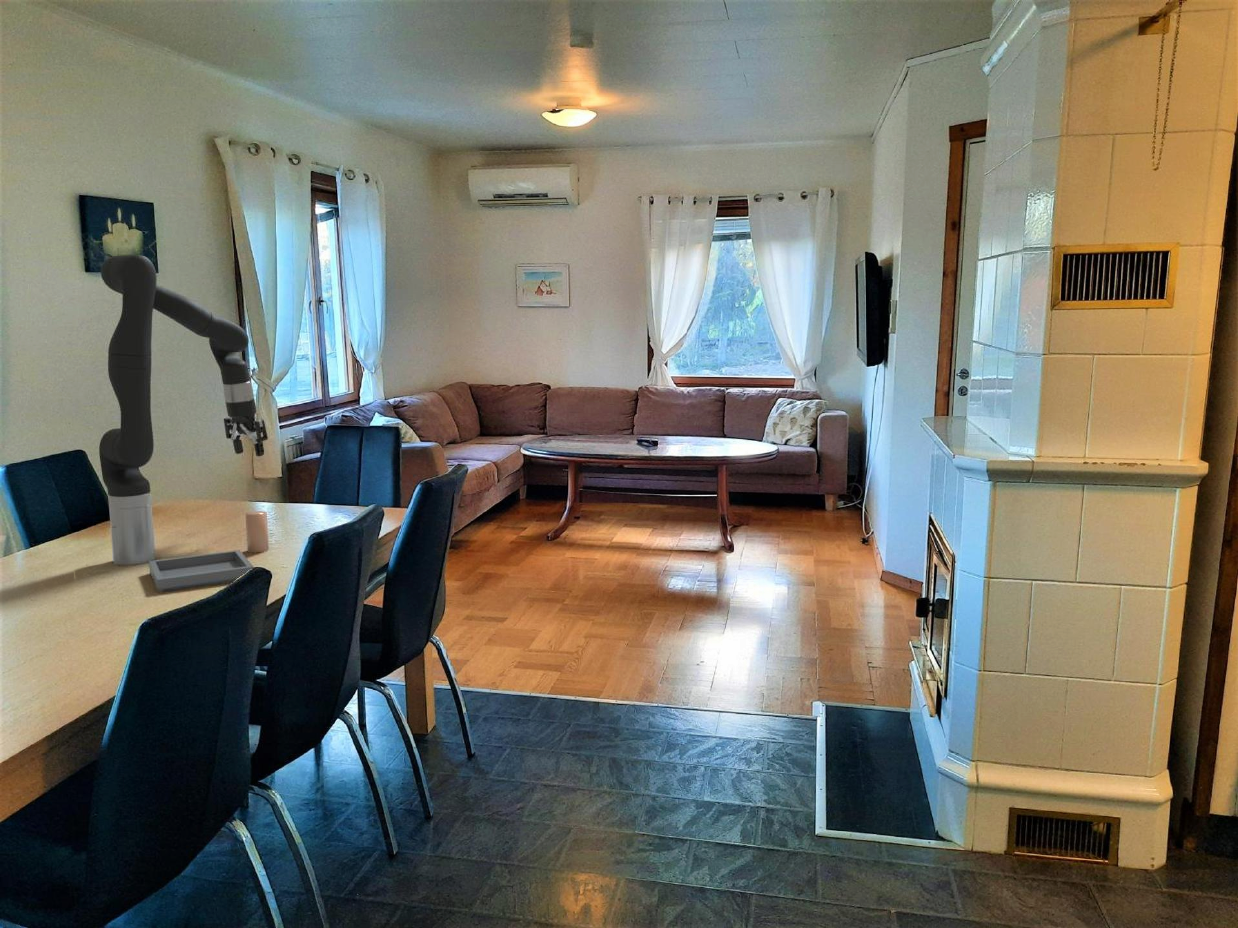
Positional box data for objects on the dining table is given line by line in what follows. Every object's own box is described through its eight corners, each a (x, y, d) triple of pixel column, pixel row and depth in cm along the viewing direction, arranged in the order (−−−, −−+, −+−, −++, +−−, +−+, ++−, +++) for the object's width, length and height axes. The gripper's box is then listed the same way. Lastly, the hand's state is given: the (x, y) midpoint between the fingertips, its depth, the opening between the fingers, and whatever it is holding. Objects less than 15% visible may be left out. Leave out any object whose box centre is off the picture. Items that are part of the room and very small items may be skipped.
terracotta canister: (249, 554, 226) (247, 516, 224) (245, 549, 230) (243, 512, 229) (270, 551, 229) (268, 513, 227) (266, 547, 233) (264, 510, 231)
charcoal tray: (158, 592, 193) (157, 579, 193) (150, 573, 208) (149, 561, 208) (254, 579, 204) (253, 566, 203) (240, 561, 219) (239, 549, 218)
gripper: (210, 400, 243) (221, 456, 247) (245, 402, 236) (256, 460, 241) (233, 394, 249) (243, 449, 254) (268, 396, 242) (278, 453, 247)
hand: (249, 454), depth 247 cm, fingers open, 8 cm apart
